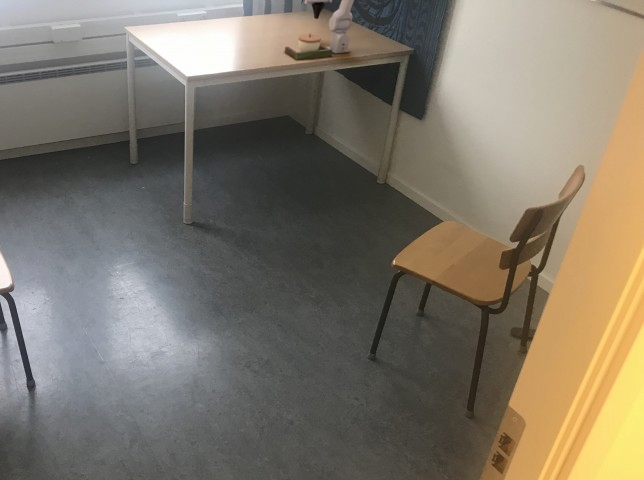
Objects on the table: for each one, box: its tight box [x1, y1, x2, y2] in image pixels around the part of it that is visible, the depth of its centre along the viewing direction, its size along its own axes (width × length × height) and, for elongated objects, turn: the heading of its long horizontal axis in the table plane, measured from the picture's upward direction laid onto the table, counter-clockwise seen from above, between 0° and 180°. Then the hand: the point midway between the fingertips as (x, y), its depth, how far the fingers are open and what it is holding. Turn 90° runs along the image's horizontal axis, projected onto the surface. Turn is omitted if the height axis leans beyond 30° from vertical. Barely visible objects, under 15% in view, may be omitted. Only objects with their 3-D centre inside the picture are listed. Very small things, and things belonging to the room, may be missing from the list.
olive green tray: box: [284, 43, 333, 61], centre depth 339 cm, size 12×19×3 cm, turn 111°
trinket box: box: [297, 33, 322, 52], centre depth 337 cm, size 11×11×9 cm
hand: (316, 18), depth 354 cm, fingers closed
